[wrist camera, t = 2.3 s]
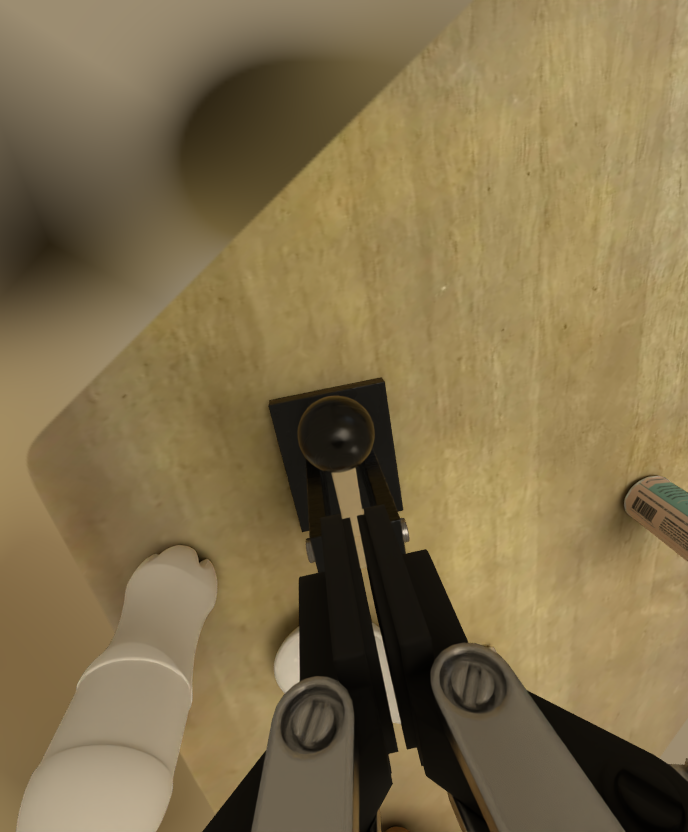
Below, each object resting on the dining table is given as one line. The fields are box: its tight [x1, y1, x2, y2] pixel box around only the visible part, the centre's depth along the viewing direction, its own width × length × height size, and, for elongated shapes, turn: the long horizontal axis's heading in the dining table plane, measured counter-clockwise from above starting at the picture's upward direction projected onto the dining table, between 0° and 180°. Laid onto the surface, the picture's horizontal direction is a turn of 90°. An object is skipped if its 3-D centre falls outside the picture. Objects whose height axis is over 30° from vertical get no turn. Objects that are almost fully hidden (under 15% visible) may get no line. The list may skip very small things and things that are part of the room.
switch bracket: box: [268, 378, 409, 573], centre depth 29 cm, size 12×9×13 cm
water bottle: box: [16, 545, 217, 832], centre depth 26 cm, size 7×7×25 cm
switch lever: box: [298, 396, 375, 569], centre depth 21 cm, size 13×3×3 cm, turn 10°
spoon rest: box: [274, 622, 497, 724], centre depth 40 cm, size 24×12×7 cm, turn 73°
